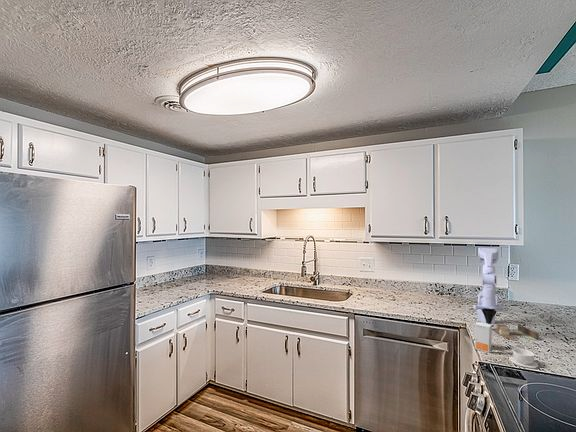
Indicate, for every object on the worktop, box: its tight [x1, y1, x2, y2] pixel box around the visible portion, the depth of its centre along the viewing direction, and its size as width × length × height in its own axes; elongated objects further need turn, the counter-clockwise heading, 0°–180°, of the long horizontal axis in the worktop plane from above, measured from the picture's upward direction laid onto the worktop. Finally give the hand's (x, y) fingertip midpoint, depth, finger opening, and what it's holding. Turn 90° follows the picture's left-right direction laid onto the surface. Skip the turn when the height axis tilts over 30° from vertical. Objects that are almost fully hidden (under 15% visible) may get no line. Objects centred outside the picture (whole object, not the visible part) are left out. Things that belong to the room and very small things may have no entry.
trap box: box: [492, 323, 539, 341], centre depth 160 cm, size 14×15×4 cm
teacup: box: [508, 348, 539, 369], centre depth 131 cm, size 10×10×5 cm
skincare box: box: [474, 321, 493, 354], centre depth 143 cm, size 6×4×12 cm
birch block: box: [495, 323, 510, 336], centre depth 160 cm, size 4×4×4 cm
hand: (488, 323), depth 161 cm, fingers closed
